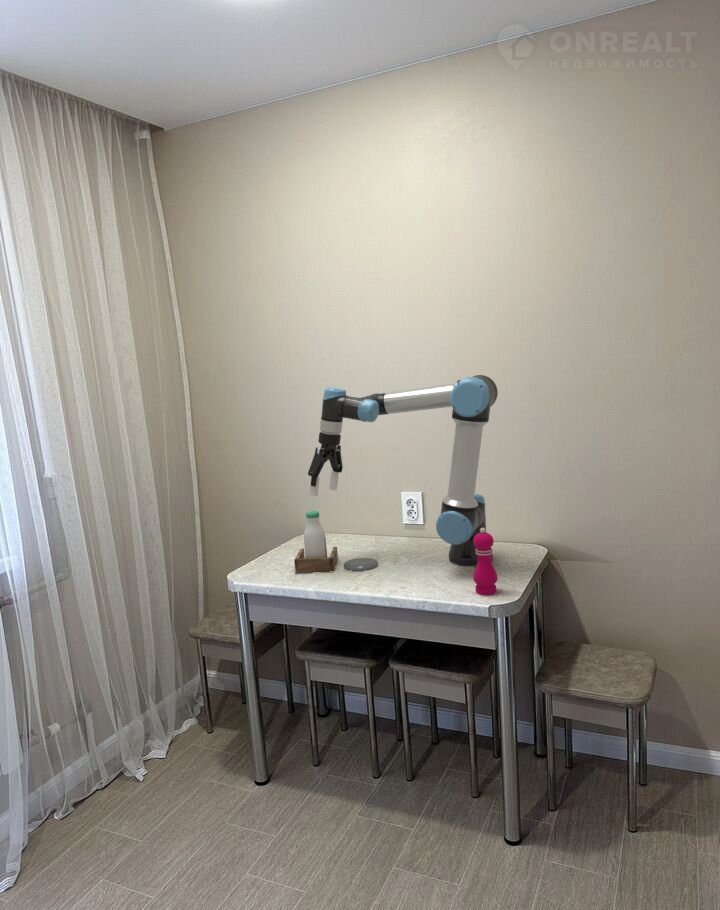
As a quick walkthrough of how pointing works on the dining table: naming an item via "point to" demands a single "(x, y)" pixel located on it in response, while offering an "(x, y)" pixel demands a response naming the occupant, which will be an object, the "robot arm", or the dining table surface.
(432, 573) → the dining table surface
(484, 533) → the pepper mill
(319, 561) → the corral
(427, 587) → the dining table surface
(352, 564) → the coaster
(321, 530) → the milk bottle
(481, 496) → the robot arm
